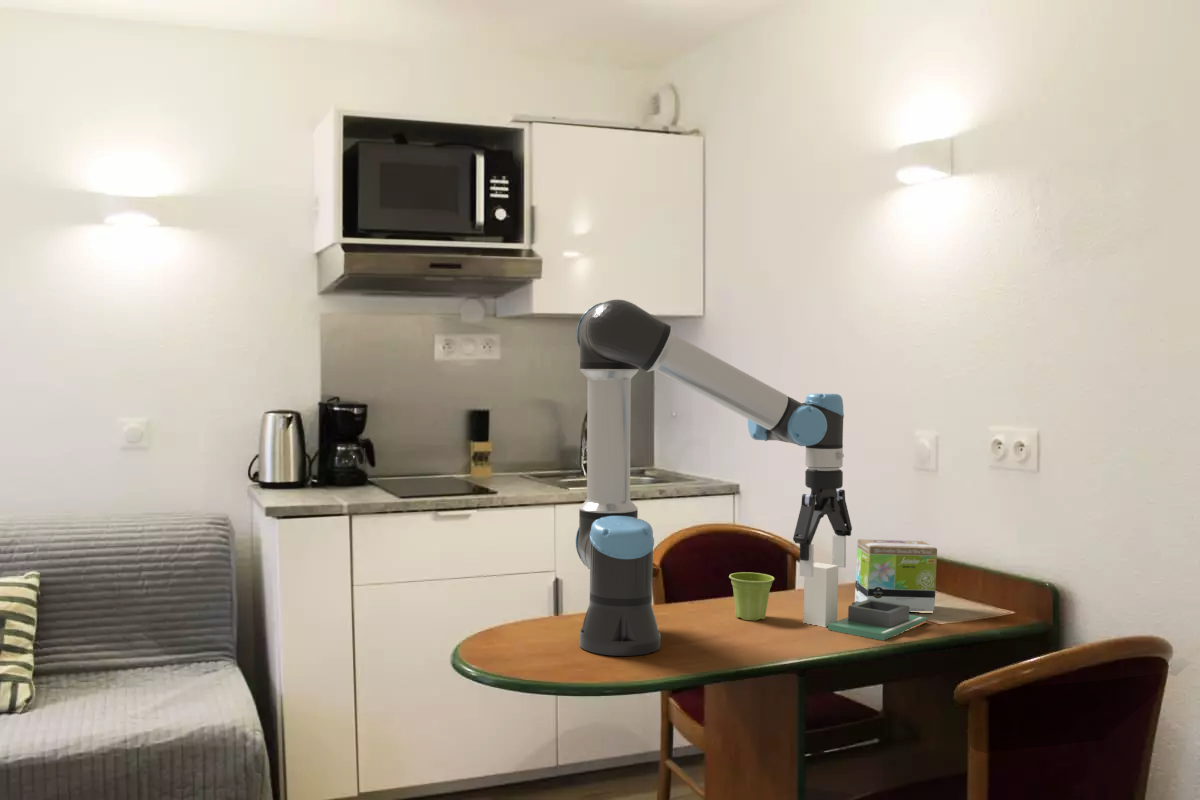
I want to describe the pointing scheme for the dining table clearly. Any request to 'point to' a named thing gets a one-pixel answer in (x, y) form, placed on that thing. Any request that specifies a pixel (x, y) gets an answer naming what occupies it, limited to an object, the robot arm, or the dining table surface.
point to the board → (876, 620)
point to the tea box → (896, 573)
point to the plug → (821, 595)
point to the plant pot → (751, 594)
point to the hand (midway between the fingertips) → (823, 571)
